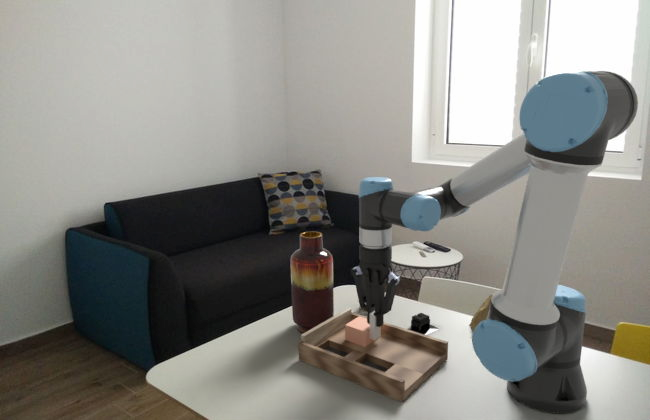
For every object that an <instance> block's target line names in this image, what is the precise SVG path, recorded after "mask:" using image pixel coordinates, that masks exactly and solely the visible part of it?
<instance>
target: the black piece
mask: <svg viewBox="0 0 650 420" xmlns="http://www.w3.org/2000/svg"><path fill="white" fill-rule="evenodd" d="M407 329H408V330H411V331H414V332H417V333H421V334H424V335H427V336H428V335H429V334H431V333H433V332H436V331H438V330H440V328H439V327H437V326H435V325H432V324H431V319H430V315H429V314H428V315H427V314H425V313H423V312H420V313H418V314H415V315H412V316H411V320H410V327H408V328H407Z"/></svg>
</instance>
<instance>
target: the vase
mask: <svg viewBox="0 0 650 420" xmlns="http://www.w3.org/2000/svg"><path fill="white" fill-rule="evenodd" d="M323 245H324V244H323V233H322V232H319V231H305V232H301V233H300V234H299V249H296V250H295V251H294V252H293V253H292V255H291V256H290V283H291V284H290V285H291V310H292V320H293V322H294V324H296V330H297V332H298V333H300V334H301V335H302V334H303V333H305V332H307V331H309V330H310V329H312V328H314V327H316V326H318V325H319V324H321V323H323V322H325V321H326V320H328V319H330V318H332V317H333V316H335V314H334V312H335V310H334V305H335V304H334V303H335V302H334V259H333V254H332V253H331V252H330V251H329V250H327V248H324V246H323Z"/></svg>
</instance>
